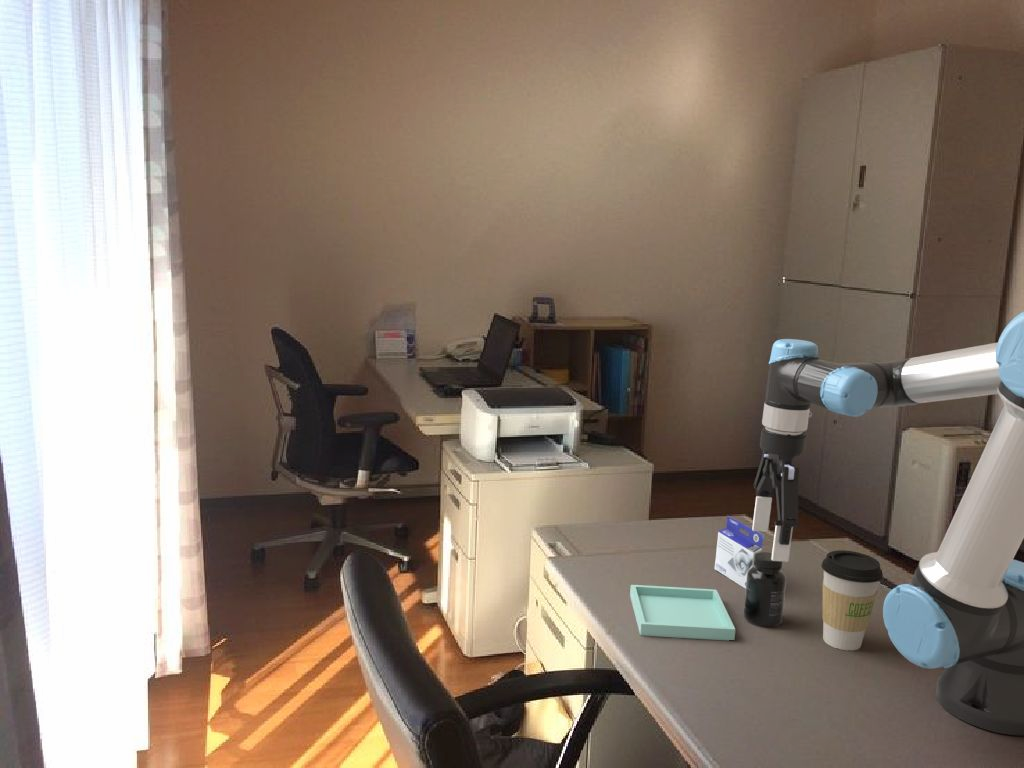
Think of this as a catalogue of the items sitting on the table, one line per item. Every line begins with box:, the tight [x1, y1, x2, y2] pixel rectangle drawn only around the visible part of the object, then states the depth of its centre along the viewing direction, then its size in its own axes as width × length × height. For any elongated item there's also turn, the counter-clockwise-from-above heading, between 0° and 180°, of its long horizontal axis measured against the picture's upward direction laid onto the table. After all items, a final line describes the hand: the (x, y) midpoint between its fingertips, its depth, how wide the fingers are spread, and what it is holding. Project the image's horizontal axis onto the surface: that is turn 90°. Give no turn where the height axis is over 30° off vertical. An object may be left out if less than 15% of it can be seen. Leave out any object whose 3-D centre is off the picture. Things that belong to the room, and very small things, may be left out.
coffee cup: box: [820, 549, 884, 651], centre depth 155 cm, size 10×10×15 cm
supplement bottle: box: [743, 551, 787, 628], centre depth 163 cm, size 7×7×12 cm
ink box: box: [713, 515, 766, 590], centre depth 179 cm, size 12×2×12 cm, turn 25°
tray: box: [629, 584, 736, 641], centre depth 163 cm, size 16×16×2 cm
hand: (769, 545), depth 161 cm, fingers open, 13 cm apart
